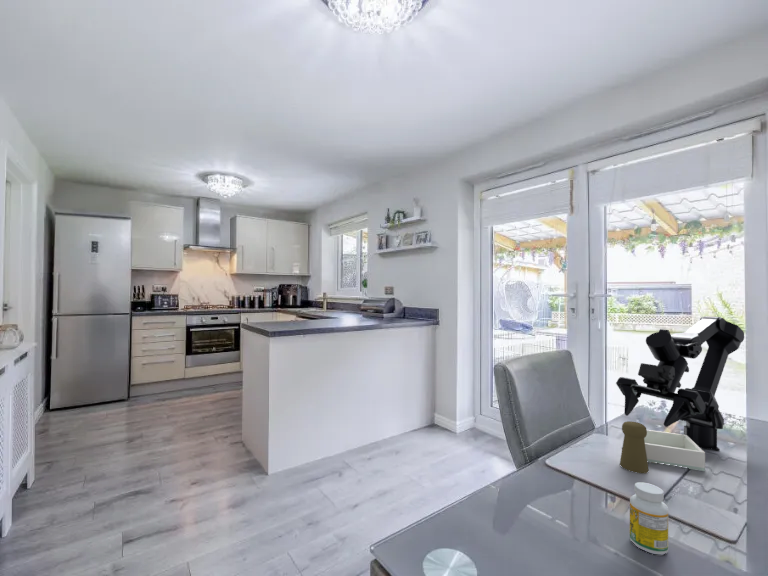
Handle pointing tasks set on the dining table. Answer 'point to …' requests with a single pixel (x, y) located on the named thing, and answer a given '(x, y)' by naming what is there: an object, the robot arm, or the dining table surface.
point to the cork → (634, 447)
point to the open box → (674, 450)
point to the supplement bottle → (649, 518)
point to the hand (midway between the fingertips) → (644, 419)
